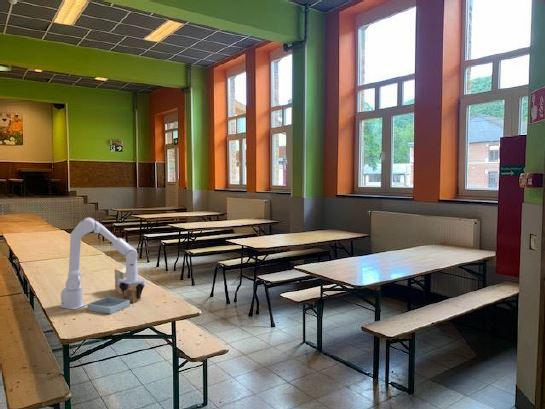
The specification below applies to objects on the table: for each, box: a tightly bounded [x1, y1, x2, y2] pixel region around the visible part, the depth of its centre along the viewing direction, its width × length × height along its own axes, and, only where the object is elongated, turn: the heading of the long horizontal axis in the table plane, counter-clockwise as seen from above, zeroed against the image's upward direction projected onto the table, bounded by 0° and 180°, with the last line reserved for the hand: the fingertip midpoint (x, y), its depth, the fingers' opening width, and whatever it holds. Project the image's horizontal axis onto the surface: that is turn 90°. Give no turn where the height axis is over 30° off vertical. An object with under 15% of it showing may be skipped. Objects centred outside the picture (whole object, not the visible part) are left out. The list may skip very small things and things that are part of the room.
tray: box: [86, 296, 131, 315], centre depth 202 cm, size 14×13×3 cm
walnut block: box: [123, 288, 142, 305], centre depth 213 cm, size 6×6×6 cm
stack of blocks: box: [114, 266, 141, 295], centre depth 226 cm, size 21×6×12 cm, turn 40°
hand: (132, 298), depth 213 cm, fingers closed on walnut block, 7 cm apart
